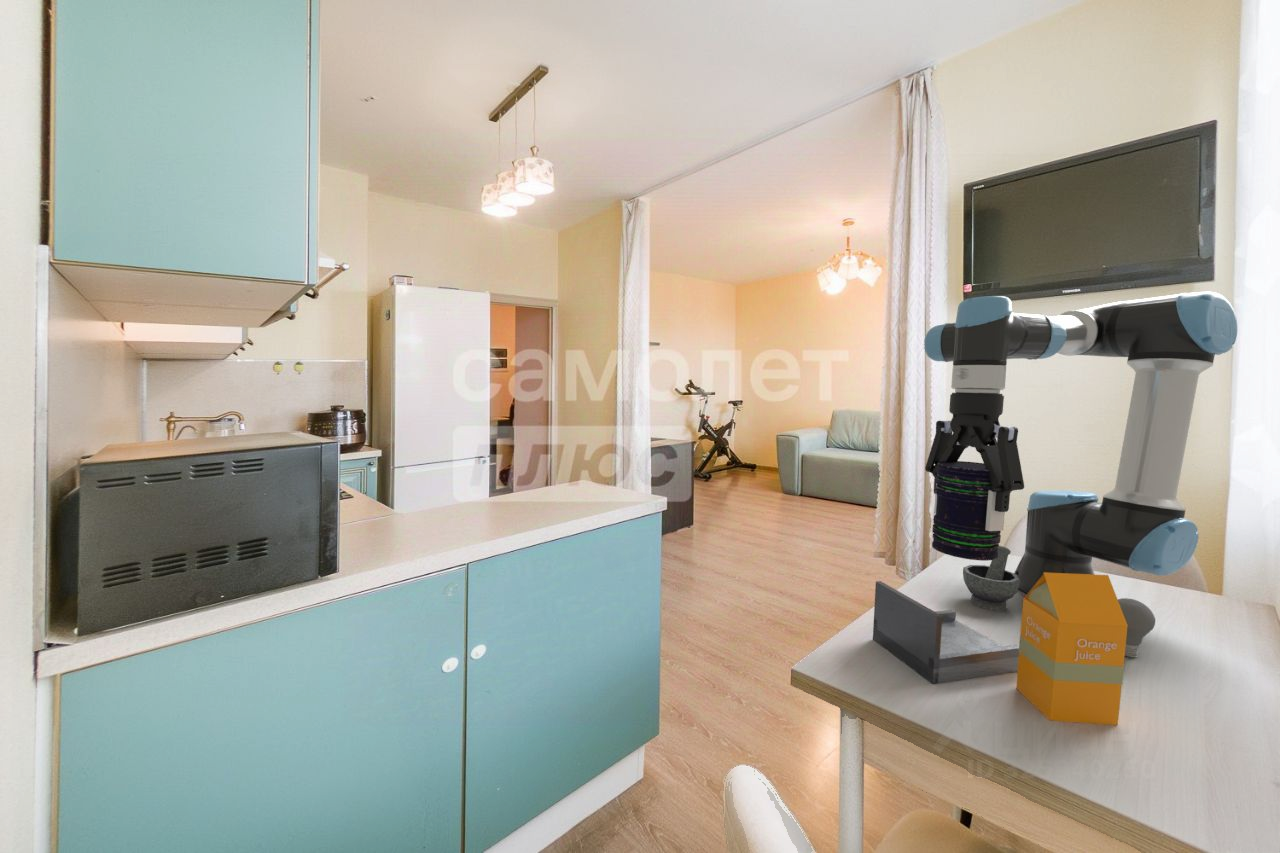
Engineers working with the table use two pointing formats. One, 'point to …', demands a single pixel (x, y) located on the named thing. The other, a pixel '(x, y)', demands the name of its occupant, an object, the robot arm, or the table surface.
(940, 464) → the dark navy cylinder
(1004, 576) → the mortar and pestle
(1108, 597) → the orange juice
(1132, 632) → the light bulb
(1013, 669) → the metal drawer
